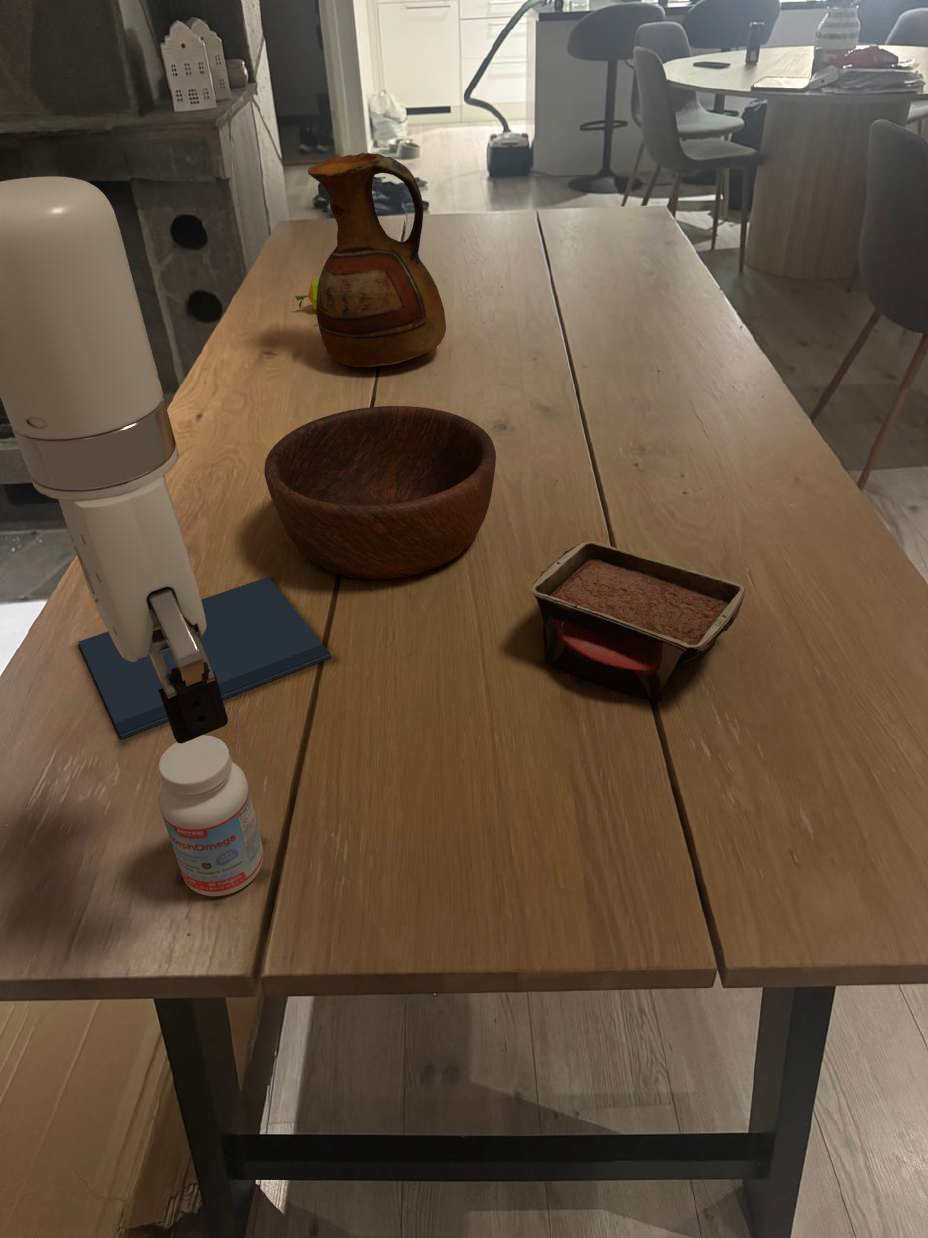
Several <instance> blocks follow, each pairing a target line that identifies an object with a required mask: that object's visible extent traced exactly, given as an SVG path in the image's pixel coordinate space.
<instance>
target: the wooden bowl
mask: <svg viewBox="0 0 928 1238" xmlns="http://www.w3.org/2000/svg"><path fill="white" fill-rule="evenodd" d="M496 464H497V451H496V448H495V444H494V442H493V440H492V438H491V436H490V435H489V434H488V433H487V432H486V430H485V429H483V428H482V427H481V426H479V425H478V424H476V423H475V422H473V421H471V420H469V419H467V418H465V417H463V416H460V415H458V414H456V413H452V412H449V411H445V410H440V409H437V408H431V407H430V408H429V407H425V406H423V407H422V406H413V405H412V406H411V405H382V406H379V405H378V406H372V407H371V406H370V407H361V408H355V409H350V410H345V411H344V410H343V411H340V412H336V413H332V414H329V415H326V416H323V417H320V418H316V419H314V420H311V421H309V422H307V423H305V424H303V425H300V426H298V427H297V428H295V429H293V430H292V431H290V432H288V433H287V434H285V435H284V436H283V437H282V438H281V439H280V440H278V441H277V442H276V443H275V444H274V446H273V447H272V448H271V449H270V450H269V452H268V454H267V455H266V459H265V462H264V469H263V471H264V478H265V482H266V485H267V489H268V492H269V495H270V498H271V501H272V503H273V506H274V509H275V512H276V514H277V517H278V519H279V521H280V523H281V525H282V527H283V529H284V531H285V533H286V534H287V536H288V538H289V539H290V541H292V543H293V544H294V545H295V546H296V548H297V549H298V550H299V551H300V552H301V553H302V554H303V555H304V556H305V557H306V558H307V559H308V560H309V561H311V562H312V563H314V564H315V565H317V566H318V567H320V568H323V569H325V570H327V571H329V572H332V573H335V574H337V575H341V576H344V577H349V578H355V579H363V580H392V579H400V578H406V577H411V576H415V575H420V574H423V573H426V572H429V571H432V570H435V569H437V568H439V567H441V566H443V565H446V564H448V562H450V561H452V560H453V559H455V558H456V557H457V556H459V555H460V554H462V552H464V551H465V550H466V549H467V548H468V547H469V546H470V545H471V543H472V542H473V540H474V539H475V538H476V536H477V535H478V533H479V531H480V530H481V527H482V526H483V524H484V521H485V519H486V516H487V513H488V510H489V507H490V503H491V498H492V494H493V493H492V492H493V487H494V481H495V472H496Z"/></svg>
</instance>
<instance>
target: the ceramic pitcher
mask: <svg viewBox="0 0 928 1238" xmlns="http://www.w3.org/2000/svg"><path fill="white" fill-rule="evenodd" d="M307 174H308V175H309V176H310V177H312V178H313V179H314V180H316V181H317V182H318V183H320V184H321V185H322V187H323V188H324V190H325V191H326V193H327V194H328V199H329V207H330V210H331V212H332V215H333V217H334V219H335V222H336V225H337V231H336V244H337V245H336V247H335V248H334V250H333V251H332V252H331V253H330V254H329V256H328V257H327V259H326V261H325V262H324V265H323V267H322V270H321V272H320V275H319V278H320V279H319V278H318V279H319V283H318V289H317V305H316V309H317V310H316V309H315V310H316V319H317V325H318V329H319V334H320V336H321V340H322V343H323V346H324V349H325V351H326V353H327V354H328V356H329V357H330V358H331V359H332V360H334V361H335V362H336V363H339V364H343V365H345V366H348V367H355V368H371V367H381V366H382V367H383V366H391V365H396V364H397V365H398V364H400V363H402V362H405V361H409V360H412V359H414V358H416V357H419V356H423V355H424V354H426V353H428V352H430V351H432V350H433V349H436V348H437V347H438V346H440V345H441V344H442V342H443V340H444V338H445V336H446V332H447V323H446V322H447V321H446V313H445V308H444V305H443V302H442V301H443V300H442V298H441V294H440V291H439V289H438V286H437V284H436V282H435V280H434V279H433V276H432V275H431V273H430V272H429V270H428V269H427V267H426V266H425V264H424V263H423V262H422V260H421V259H420V255H419V252H420V251H419V250H420V244H421V237H422V230H423V224H424V203H423V197H422V193H421V191H420V187H419V185H418V182H417V180H416V178H415V176H414V174H413V173H412V172H411V170H410V169H409V168H408V167H407V166H406V165H404V164H403V163H401V162H400V161H399V160H397V159H395V158H393V157H392V156H385V155H382V154H380V153H372V152H371V153H370V152H360V153H358V154H347V155H344V156H338V157H337V156H336V157H332V158H330V159H329V158H328V159H327V160H322V161H320V162H318V163H317V164H314V165H312V166H311V167H309V168H308V169H307ZM380 174H387V175H391V176H394V177H395V178H397V179H398V180H400V181H401V182H402V183H403V184H404V185H405V187H406V188H407V190H408V192H409V194H410V197H411V200H412V204H413V208H414V216H413V223H412V228H411V230H410V233H409V235H408V237H407V239H406V240H403V241H399V240H397V239H395V238H393V237H390V236H389V235H388V234H387V232H386V230H385V229H384V228H383V226H382V224H381V222H380V220H379V217H378V214H377V210H376V207H375V202H374V201H375V200H374V196H373V195H374V194H373V183H374V178H375V176H376V175H380Z"/></svg>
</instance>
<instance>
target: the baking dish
mask: <svg viewBox="0 0 928 1238" xmlns="http://www.w3.org/2000/svg"><path fill="white" fill-rule="evenodd" d="M530 590H531V592H532V594H533V596H534V598H535V599H536V601H537V605H538V608H539V609H538V610H539V612H540V615H541V619H542V631H543V632H542V633H543V648H544V658H543V662H544V663H546V664H547V665H549V666H550V667H553V668H555V669H558V670H560V671H563V672H566V673H568V674H571V675H572V676H576V677H579V678H581V679H585V680H588V681H590V682H594V683H596V684H599V685H603V686H605V687H609V688H610V689H611V688H612V689H614V690H616V691H619V692H623V693H625V694H629V695H632V696H637V697H640V698H642V699H646V700H649V701H652V702H653V701H654V702H659V703H661V701H662V700H663V696H664V691H665V687H666V683H668V680H669V678H670V677H671V675H672V673H673V672H674V669H675V668H677V667H680V666H681V665H683V664H685V663H687V662H689V661H691V660H694V659H696V658H697V657H700V656H702V655H703V654H704V652H706V651H707V650H708V649H710V648H711V647H712V646H713V645H714V644H715V643H716V642H717V639H718V638H719V637H720V636H721V635H722V633H725V632H727V631H728V630H729V628H730V627H731V626H732V625H733V623H734V622H735V620H736V618H737V617H738V615H739V612H740V610H741V607H742V604H743V601H744V598H745V595H746V588H745V586H744V584H743V583H740V582H736V581H731V580H728V579H724V578H721V577H717V576H714V575H711V574H708V573H704V572H701V571H696V570H693V569H689V568H686V567H682V566H680V565H675V564H672V563H669V562H665V561H662V560H658V559H656V558H653V557H648V556H646V555H645V556H644V555H641V554H638V553H635V552H631V551H629V550H624V549H621V548H618V547H614V546H611V545H607V544H604V543H601V542H597V541H586V542H582V543H580V544H577V545H575V546H573V547H571V548H570V549H568V550H566V551H565V552H564V553H563V554H562V555H561V556H560V557H558V559H557V560H555V561H554V562H552V563H551V564H549V565H548V567H547V568H546V569H544V570H543V571H541V572H540V575H539V577H538V578H537V579H536V580H535V581H534V582H533V584H532V585H531V588H530Z"/></svg>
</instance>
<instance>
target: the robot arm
mask: <svg viewBox="0 0 928 1238" xmlns="http://www.w3.org/2000/svg"><path fill="white" fill-rule="evenodd" d="M0 400H1V402H2V403H1V404H2V405H3V408H4V411H5V413H6V416H7V418H8V421H9V424H10V426H11V429H12V432H13V435H14V437H15V441H16V443H17V446H18V448H19V451H20V453H21V457H22V458H23V462H24V464H25V467H26V469H27V472H28V474H29V477H30V480H31V483H32V485H33V487H34V489H35V490H36V491H37V492H39V493H40V494H42V495H44V496H46V497H48V498H51V499H54V500H55V499H56V500H58V502H59V505H60V509H61V512H62V516H63V519H64V521H65V525H66V528H67V530H68V533H69V536H70V539H71V541H72V544H73V547H74V551H75V552H76V555H77V558H78V561H79V563H80V567H81V571H82V573H83V577H84V580H85V584H86V586H87V589H88V592H89V594H90V596H91V599H92V602H93V603H94V606H95V608H96V610H97V612H98V614H99V616H100V618H101V620H102V622H103V625H104V626H105V628H106V631H107V632H109V634H110V636H111V638H112V640H113V642H114V644H115V646H116V648H117V649H118V651H119V653H120V655H121V656H122V657H123V658H124V659H126V660H128V661H131V662H136V661H137V660H138V659H141V658H144V657H147V656H148V654H149V655H150V657H151V660H152V662H153V665H154V667H155V669H156V672H157V674H158V677H159V679H160V682H161V684H162V687H163V688H162V689H159V690H158V691H159V694H160V697H161V700H162V703H163V706H164V709H165V712H166V715H167V718H168V721H167V722H168V724H169V727H170V730H171V732H172V736H173V738H174V739H175V741H176V742H178V743H185V742H187V741H190V740H192V739H195V738H197V737H199V736H202V735H206V734H209V733H211V732H214V731H216V730H219V729H221V728H224V727H226V726H227V725H228V722H229V718H228V714H227V710H226V707H225V703H224V700H222V696H221V693H220V689H219V685H218V682H217V678H216V675H215V672H214V671H213V669H212V668H211V666H210V663H209V661H208V659H207V656H206V654H205V651H204V649H203V646H202V644H201V641H200V639H199V637H202V635H203V634H204V632H205V630H206V627H207V625H206V619H205V614H204V609H203V605H202V601H201V600H202V597H201V593H200V590H199V586H198V581H197V580H196V579H197V578H196V575H195V571H194V568H193V564H192V562H191V558H190V554H189V551H188V548H187V544H186V541H185V537H184V534H183V531H182V528H181V524H180V521H179V518H178V511H177V509H176V508H175V506H174V501H173V499H172V495H171V492H170V489H169V486H168V483H167V479H166V476H165V475H166V474H168V473H170V471H171V470H172V469H173V468H174V466H176V463H177V462H178V460H179V455H180V454H179V448H178V444H177V442H176V437H175V434H174V430H173V427H172V423H171V420H170V416H169V415H170V414H169V411H168V408H167V404H166V401H165V395H164V392H163V388H162V383H161V381H160V378H159V372H158V369H157V366H156V363H155V358H154V354H153V351H152V347H151V343H150V340H149V336H148V332H147V328H146V325H145V322H144V318H143V313H142V309H141V305H140V302H139V298H138V295H137V291H136V286H135V282H134V280H133V275H132V272H131V267H130V264H129V259H128V256H127V252H126V248H125V244H124V240H123V236H122V233H121V229H120V226H119V223H118V219H117V216H116V213H115V210H114V208H113V206H112V204H111V202H110V201H109V199H108V198H107V196H106V195H105V193H104V192H102V190H100V189H99V188H98V187H97V186H96V185H93V184H92V183H90V182H88V181H87V180H84V179H79V178H74V177H68V176H58V175H57V176H55V175H54V176H51V175H50V176H34V177H24V178H23V177H22V178H15V179H7V180H2V181H0ZM169 649H170V651H171V653H172V656H173V659H174V663H175V665H176V668H173V669H171V673H170V674H169V671H168V669H167V666H166V664H165V662H164V659H163V657H162V654H161V652H164V651H167V650H169Z"/></svg>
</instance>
